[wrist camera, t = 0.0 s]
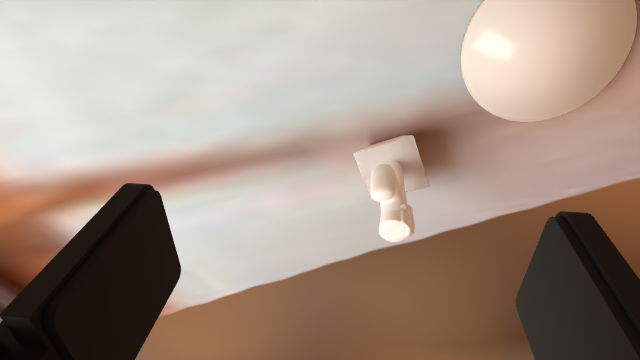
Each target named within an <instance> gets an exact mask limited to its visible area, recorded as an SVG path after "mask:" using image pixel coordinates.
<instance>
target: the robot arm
mask: <svg viewBox="0 0 640 360" xmlns="http://www.w3.org/2000/svg"><path fill="white" fill-rule="evenodd" d="M180 274H181V266H180V262H179V258H178V255H177V251H176V248H175V244H174V241H173V237H172V234H171V230H170V227H169V223H168V220H167V216H166V212H165V209H164V205H163V202H162V198H161V195H160V193H159V192H158V191H155V190H154V188H153V187H152V186H151V185H149V184H134V183H127V184H125V185H123V186H122V187H121V188H120V189H119V190H118V191H117V192H116V193H115V194H114V196H113V197H112V198H111V199H110V200H109V201H108V202H107V203H106V204H105V205H104V206H103V207H102V208H101V209H100V210H99V211H98V212H97V213H96V214H95V215H94V216H93V217H92V219H91V220H90V221H89V222H88V223H87V224H86V225H85V226H84V227H83V228H82V229H81V230H80V231H79V232H78V233H77V234H76V235H75V236H74V237H73V238H72V239H71V240H70V241H69V243H68V244H67V245H66V246H65V247H64V248H63V249H62V250H61V251H60V252H59V253H58V254H57V255H56V256H55V257H54V258H53V259H52V260H51V261H50V262H49V263H48V264H47V265H46V267H45V268H44V269H43V270H42V271H41V272H40V273H39V274H38V275H37V276H36V277H35V278H34V279H33V280H32V281H31V282H30V283H29V284H28V285H27V286H26V287H25V288H24V289H23V291H22V292H21V293H20V294H19V295H18V296H17V297H16V298H15V299H14V300H13V301H12V302H11V303H10V304H9V305H8V306H7V307H6V308H5V309H4V310H3V311H2V312H1V313H0V317H1V319H2V320H3V321H2V322H1V323H0V360H135V358H136V356H137V355H138V353H139V351H140V349H141V347H142V346H143V344H144V342H145V340H146V338H147V337H148V335H149V333H150V331H151V329H152V328H153V326H154V324H155V322H156V320H157V318H158V317H159V315H160V313H161V311H162V309H163V308H164V306H165V304H166V302H167V300H168V298H169V297H170V295H171V293H172V291H173V289H174V288H175V286H176V284H177V282H178V280H179V278H180ZM516 307H517V311H518V314H519V317H520V320H521V322H522V325H523V328H524V331H525V333H526V336H527V339H528V342H529V344H530V347H531V350H532V352H533V355H534V358H535V360H640V279H639V278H638V277H637V275H636V274H635V273H634V271H633V270H632V269H631V267H630V266H629V264H628V263H627V262H626V260H625V259H624V258H623V256H622V255H621V254H620V252H619V251H618V250H617V248H616V247H615V245H614V244H613V243H612V242H611V240H610V239H609V237H608V236H607V235H606V233H605V232H604V231H603V229H602V228H601V226H600V225H599V224H598V222H597V221H596V220H595V218H594V217H593V216H592V215H591V214H588V213H578V212H563V211H562V212H559V213H558V214H557V215H556V217H551V218H549V219H548V221H547V222H546V225H545V228H544V230H543V232H542V235H541V237H540V240H539V242H538V245H537V248H536V250H535V252H534V255H533V257H532V260H531V262H530V264H529V267H528V269H527V272H526V274H525V277H524V279H523V282H522V284H521V287H520V289H519V292H518V294H517V298H516Z"/></svg>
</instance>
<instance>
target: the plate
mask: <svg viewBox="0 0 640 360" xmlns="http://www.w3.org/2000/svg"><path fill="white" fill-rule="evenodd" d="M636 27H637V11H636V4H635V0H483V1H482V2H481V4H480V5H479V7H478V8H477V10H476V11H475V13H474V14H473V16H472V18H471V20H470V22H469V24H468V26H467V29H466V31H465V34H464V37H463V41H462V45H461V53H460V65H461V71H462V76H463V79H464V82H465V84H466V86H467V88H468V90H469V92H470V94H471V95H472V97H473V98H474V99H475V101H476V102H477V103H478V104H479V105H480V106H481V107H483V108H484V109H485V110H487V111H488V112H490V113H492V114H494V115H496V116H498V117H501V118H504V119H508V120H512V121H520V122H533V121H541V120H546V119H551V118H554V117H557V116H560V115H563V114H566V113H568V112H570V111H572V110H574V109H576V108H578V107H580V106H581V105H583V104H585V103H586V102H588V101H589V100H590V99H592V98H593V97H595V96H596V95H597V94H598V93H599V92H600V91H602V90H603V89H604V88H605V87H606V86H607V85H608V84H609V83H610V82H611V80H612V79H613V78H614V77H615V75H616V74H617V73H618V72H619V70H620V68H621V67H622V65H623V64H624V62H625V60H626V58H627V56H628V54H629V52H630V50H631V47H632V44H633V41H634V38H635V33H636Z"/></svg>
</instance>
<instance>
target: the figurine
mask: <svg viewBox="0 0 640 360" xmlns="http://www.w3.org/2000/svg"><path fill="white" fill-rule="evenodd" d="M353 155H354V158H355V160H356V163H357V165H358V167H359V170H360V172H361V175H362V177H363V179H364V182H365V184H366V187H367V189H368V191H369V194H370V196H371V199H372V201H373V200H375V201H379V202H380V205H381V219H380V226H379V232H380V235H381V236H382V237H383V238H384V239H385V240H388V241H391V242H398V241H401V240H403V239H408V238H410V237H411V236H412V235H413V233H414V228H415V225H414V218H413V211H412V208H411V206H410V205H407V200H406V193H405V192H408V191H412V190H416V189H420V188H424V187H428V186H429V183H428V180H427V177H426V173H425V170H424V167H423V164H422V161H421V158H420V155H419V151H418V148H417V145H416V142H415V139H414V136H413V135H402V136H399V137H396V138H392V139H389V140H386V141H382V142H379V143H376V144H372V145H369V146H367V147H365V148H363V149H361V150H359V151H357V152H355V153H353Z"/></svg>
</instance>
